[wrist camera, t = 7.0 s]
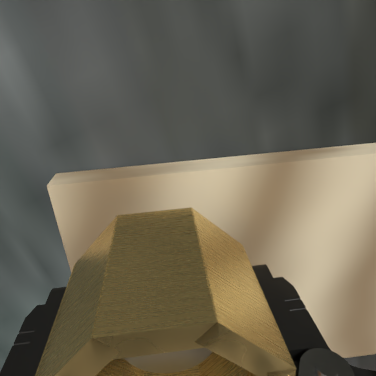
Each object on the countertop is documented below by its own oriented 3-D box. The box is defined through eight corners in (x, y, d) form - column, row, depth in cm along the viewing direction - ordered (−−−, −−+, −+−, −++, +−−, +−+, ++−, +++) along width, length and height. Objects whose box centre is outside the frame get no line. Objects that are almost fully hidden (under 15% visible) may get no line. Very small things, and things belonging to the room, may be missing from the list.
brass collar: (243, 201, 11) (303, 310, 7) (241, 327, 14) (284, 467, 9) (63, 220, 11) (-3, 350, 6) (97, 346, 13) (68, 501, 9)
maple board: (431, 137, 14) (759, 250, 6) (379, 333, 19) (525, 523, 11) (55, 173, 13) (-82, 355, 5) (107, 369, 18) (74, 601, 10)
